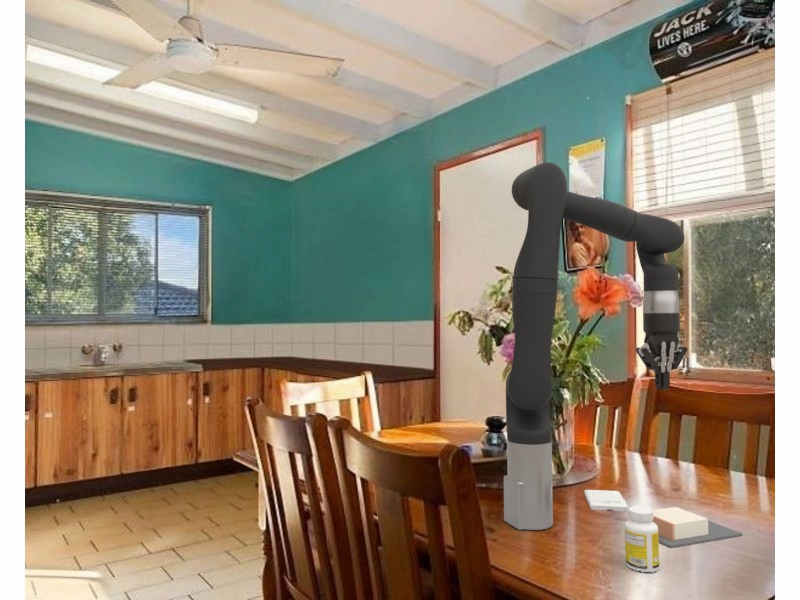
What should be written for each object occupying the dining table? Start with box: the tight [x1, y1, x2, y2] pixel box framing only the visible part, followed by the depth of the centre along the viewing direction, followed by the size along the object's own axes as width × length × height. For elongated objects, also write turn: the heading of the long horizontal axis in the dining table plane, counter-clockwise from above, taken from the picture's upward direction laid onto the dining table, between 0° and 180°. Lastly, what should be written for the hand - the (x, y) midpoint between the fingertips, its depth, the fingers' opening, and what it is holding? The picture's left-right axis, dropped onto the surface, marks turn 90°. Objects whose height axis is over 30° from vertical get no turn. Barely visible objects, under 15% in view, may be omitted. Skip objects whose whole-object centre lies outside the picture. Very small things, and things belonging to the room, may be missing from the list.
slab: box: [652, 506, 709, 541], centre depth 119 cm, size 3×8×9 cm
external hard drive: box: [583, 489, 630, 512], centre depth 140 cm, size 2×8×12 cm
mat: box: [658, 519, 744, 549], centre depth 120 cm, size 18×12×1 cm, turn 110°
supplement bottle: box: [624, 506, 660, 573], centre depth 103 cm, size 5×5×10 cm
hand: (662, 389), depth 133 cm, fingers closed
